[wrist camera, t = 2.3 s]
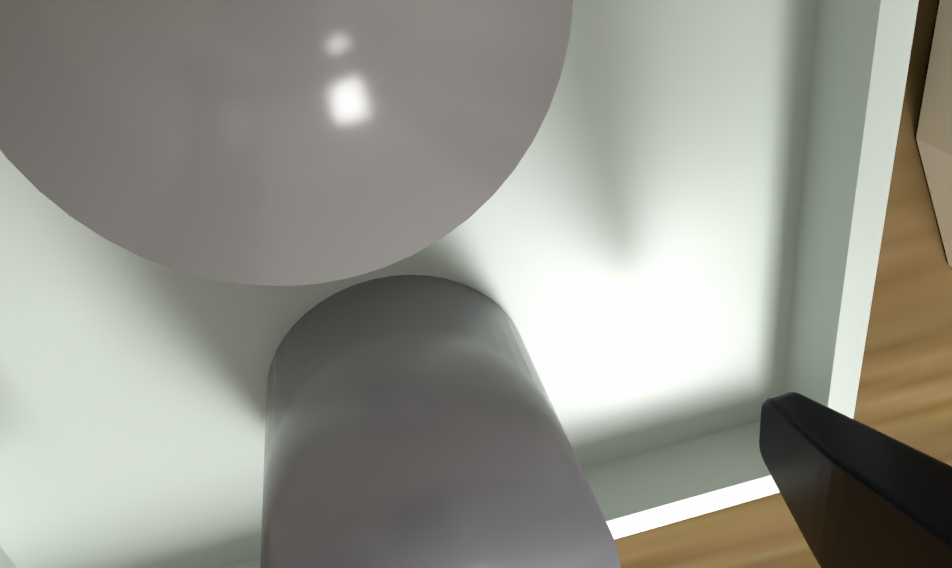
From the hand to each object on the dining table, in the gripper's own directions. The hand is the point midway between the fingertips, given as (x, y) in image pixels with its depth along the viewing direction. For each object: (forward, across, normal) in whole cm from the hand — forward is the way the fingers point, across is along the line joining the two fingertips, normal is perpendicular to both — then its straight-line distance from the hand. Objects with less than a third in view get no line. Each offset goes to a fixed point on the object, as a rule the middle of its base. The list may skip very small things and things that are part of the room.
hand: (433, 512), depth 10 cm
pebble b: (+2, 0, -6) cm, 7 cm away
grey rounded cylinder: (+2, 0, 0) cm, 3 cm away
